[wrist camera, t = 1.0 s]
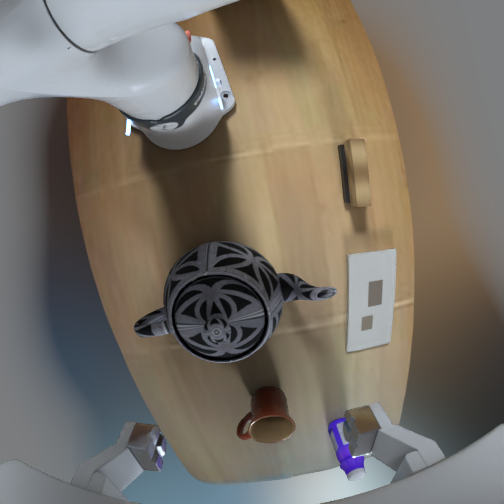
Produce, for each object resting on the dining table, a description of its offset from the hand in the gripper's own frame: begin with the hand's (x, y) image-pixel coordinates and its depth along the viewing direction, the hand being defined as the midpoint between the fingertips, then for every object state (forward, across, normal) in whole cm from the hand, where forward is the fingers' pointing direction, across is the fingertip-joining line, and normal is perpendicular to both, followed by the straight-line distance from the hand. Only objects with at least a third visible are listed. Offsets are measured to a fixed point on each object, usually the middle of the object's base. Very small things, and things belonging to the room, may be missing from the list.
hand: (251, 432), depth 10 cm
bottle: (+37, -18, +47) cm, 62 cm away
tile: (+37, -23, +12) cm, 45 cm away
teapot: (+38, +3, +7) cm, 38 cm away
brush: (+38, -19, -11) cm, 44 cm away
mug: (+37, 0, +33) cm, 50 cm away
